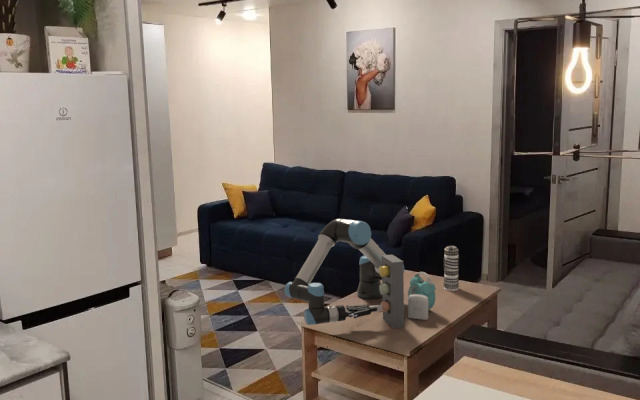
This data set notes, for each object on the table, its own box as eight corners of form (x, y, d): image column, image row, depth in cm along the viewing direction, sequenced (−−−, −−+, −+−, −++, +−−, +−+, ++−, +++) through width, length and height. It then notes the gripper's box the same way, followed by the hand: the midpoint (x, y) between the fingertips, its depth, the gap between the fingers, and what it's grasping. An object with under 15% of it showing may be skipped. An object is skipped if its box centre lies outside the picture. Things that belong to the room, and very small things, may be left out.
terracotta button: (388, 309, 299) (387, 299, 298) (391, 312, 295) (391, 302, 294) (380, 310, 298) (380, 300, 297) (384, 313, 293) (384, 303, 293)
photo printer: (429, 317, 304) (429, 294, 302) (427, 320, 300) (427, 296, 298) (409, 315, 308) (408, 292, 306) (407, 318, 304) (406, 295, 302)
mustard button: (386, 274, 296) (386, 264, 295) (390, 277, 292) (390, 267, 291) (379, 275, 295) (378, 265, 294) (382, 277, 290) (382, 267, 290)
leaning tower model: (462, 288, 347) (463, 246, 343) (451, 292, 342) (451, 249, 338) (451, 285, 355) (451, 244, 351) (440, 288, 350) (439, 246, 346)
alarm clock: (405, 306, 322) (404, 270, 319) (420, 303, 326) (420, 267, 322) (423, 316, 306) (422, 278, 303) (438, 313, 310) (438, 275, 307)
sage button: (387, 291, 298) (386, 282, 297) (390, 294, 293) (390, 285, 292) (379, 292, 297) (379, 283, 296) (383, 295, 292) (383, 285, 291)
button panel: (393, 317, 306) (392, 254, 300) (404, 327, 292) (403, 261, 287) (382, 318, 304) (381, 255, 299) (393, 328, 291) (392, 262, 286)
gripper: (340, 310, 282) (387, 304, 288) (332, 301, 295) (377, 296, 301) (340, 325, 283) (387, 319, 289) (332, 316, 296) (377, 310, 302)
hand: (382, 307), depth 295 cm, fingers closed
